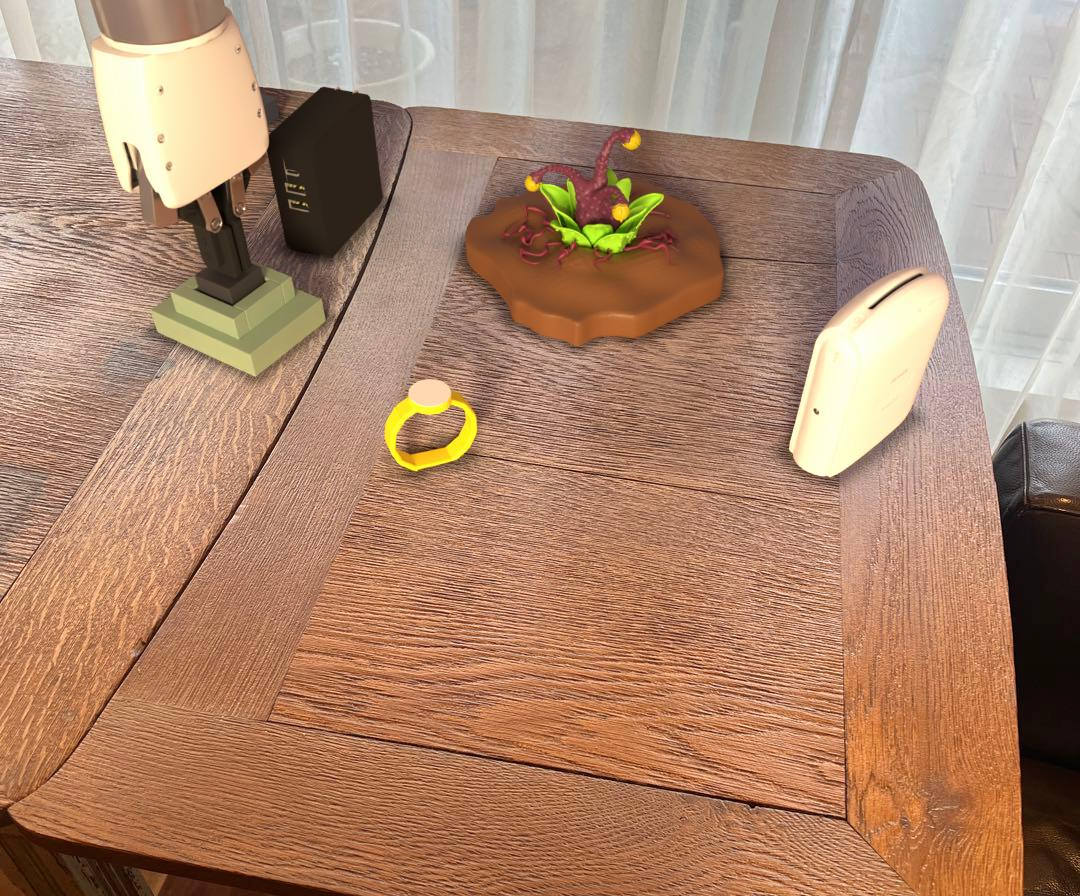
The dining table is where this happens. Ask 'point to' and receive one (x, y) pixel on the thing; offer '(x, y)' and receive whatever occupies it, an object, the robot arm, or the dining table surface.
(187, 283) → the green stepped button
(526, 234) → the plant
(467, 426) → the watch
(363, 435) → the dining table surface
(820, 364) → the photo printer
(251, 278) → the key
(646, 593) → the dining table surface
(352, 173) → the electronic device
